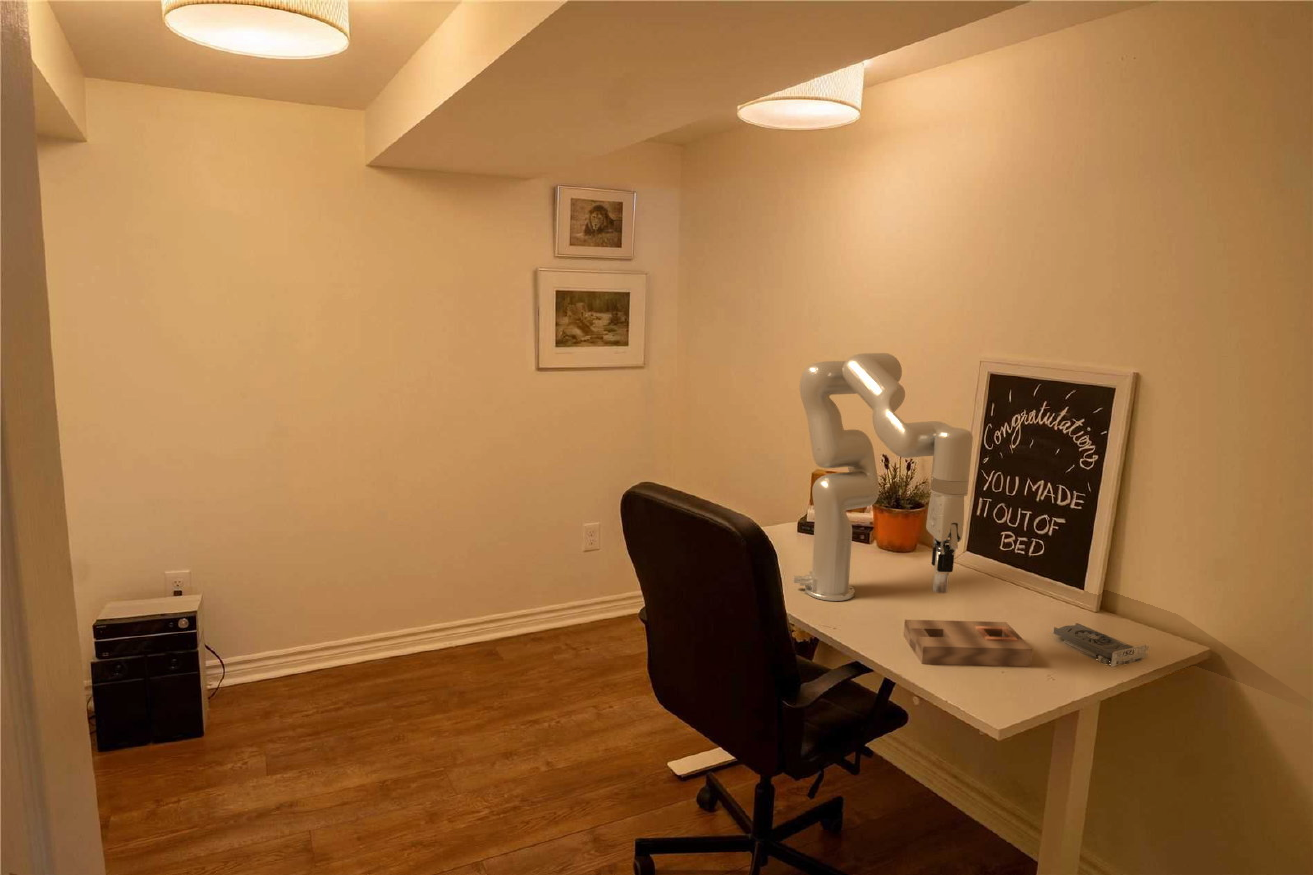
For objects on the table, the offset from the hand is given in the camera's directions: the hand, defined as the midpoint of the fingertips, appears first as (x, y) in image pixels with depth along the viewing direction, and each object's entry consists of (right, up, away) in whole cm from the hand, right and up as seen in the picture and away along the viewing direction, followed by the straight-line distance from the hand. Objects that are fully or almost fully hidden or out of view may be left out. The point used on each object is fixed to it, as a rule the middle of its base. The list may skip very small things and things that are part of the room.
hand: (941, 567), depth 179 cm
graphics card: (+37, -20, +6) cm, 42 cm away
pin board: (+6, -19, +3) cm, 20 cm away
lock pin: (0, -5, +1) cm, 5 cm away
